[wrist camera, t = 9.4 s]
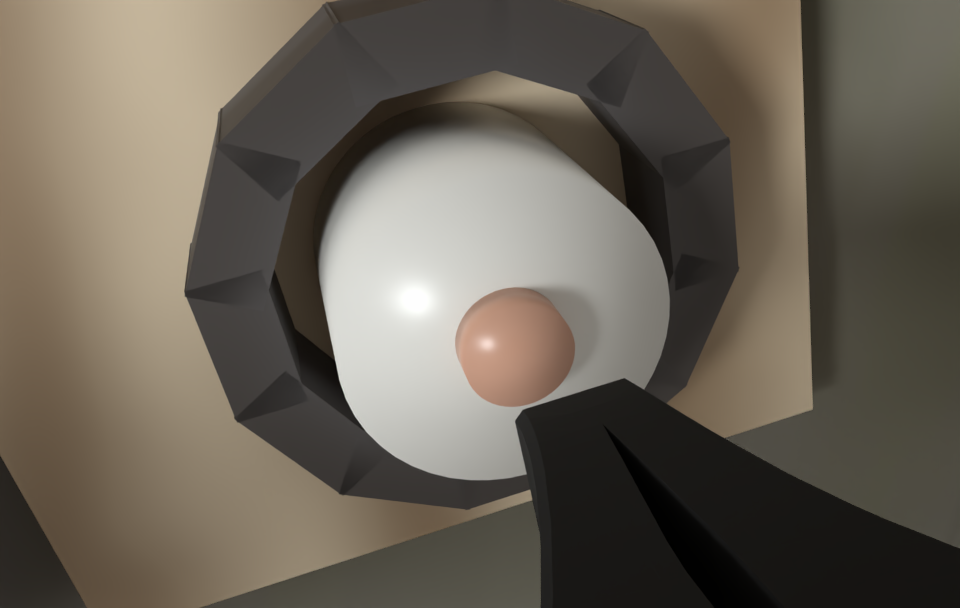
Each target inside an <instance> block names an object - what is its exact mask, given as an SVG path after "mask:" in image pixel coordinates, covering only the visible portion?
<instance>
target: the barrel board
mask: <svg viewBox="0 0 960 608" xmlns="http://www.w3.org/2000/svg"><path fill="white" fill-rule="evenodd" d="M443 102H471V103H479V104H485V105H489V106H492V107H496V108H500V109H503V110H505V111H507V112H510V113H512V114H514V115H517V116H519V117H520V118H522V119H523V120H525V121H527V122H528V123H530V124H532V125H533V126H534V127H535V128H537V129H538V130H539V131H540V132H542V133H543V134H544V135H545V136H546V137H547V138H549V139H550V140H551V141H552V142H553V143H554V144H555V145H557V146H558V147H559V148H560V149H561V150H562V151H563V152H564V153H566V154H567V155H568V156H569V157H570V158H571V159H572V160H573V161H575V162H576V163H577V164H578V165H579V166H580V167H581V168H582V169H584V170H585V171H586V172H587V173H588V174H589V175H590V176H592V177H593V178H594V179H595V180H596V181H597V182H598V183H599V184H601V185H602V186H603V187H604V188H605V189H606V190H607V191H608V192H610V193H611V194H612V195H613V196H614V197H615V198H616V199H618V200H619V201H620V202H621V203H622V204H623V205H624V206H625V207H627V208H628V209H629V210H630V211H631V212H632V213H633V214H634V216H635V217H636V218H637V219H638V220H639V221H640V222H641V223H642V224H643V226H644V227H645V229H646V230H647V232H648V233H649V235H650V236H651V238H652V239H653V241H654V243H655V245H656V247H657V249H658V252H659V254H660V256H661V258H662V261H663V265H664V268H665V272H666V275H667V280H668V288H669V296H670V310H669V323H668V329H667V336H666V340H665V343H664V347H663V350H662V354H661V356H660V359H659V361H658V363H657V366H656V368H655V371H654V373H653V375H652V377H651V378H650V380H649V382H648V384H647V385H646V387H645V389H644V390H645V391H647V392H649V393H650V394H652V395H654V396H655V397H657V398H658V399H660V400H662V401H663V402H665V403H667V404H668V405H670V406H671V407H673V408H675V409H676V410H678V411H680V412H681V413H683V414H684V415H686V416H688V417H689V418H691V419H693V420H694V421H696V422H698V423H699V424H701V425H703V426H704V427H706V428H708V429H709V430H711V431H713V432H714V433H716V434H718V435H720V436H721V437H723V438H726V437H729V436H732V435H735V434H739V433H742V432H745V431H748V430H751V429H754V428H757V427H760V426H763V425H766V424H769V423H773V422H776V421H779V420H782V419H785V418H788V417H791V416H794V415H797V414H800V413H803V412H807V411H810V410H813V397H812V364H811V331H810V298H809V265H808V232H807V199H806V166H805V133H804V100H803V67H802V34H801V1H800V0H0V456H1V458H2V459H3V461H4V463H5V465H6V466H7V468H8V470H9V472H10V474H11V475H12V477H13V479H14V481H15V482H16V484H17V486H18V488H19V489H20V491H21V493H22V495H23V496H24V498H25V500H26V502H27V503H28V505H29V507H30V509H31V510H32V512H33V514H34V516H35V517H36V519H37V521H38V523H39V524H40V526H41V528H42V530H43V531H44V533H45V535H46V537H47V538H48V540H49V542H50V544H51V545H52V547H53V549H54V551H55V552H56V554H57V556H58V558H59V559H60V561H61V563H62V565H63V566H64V568H65V570H66V572H67V573H68V575H69V577H70V579H71V580H72V582H73V584H74V586H75V587H76V589H77V591H78V593H79V594H80V596H81V598H82V600H83V601H84V603H85V605H86V607H87V608H200V607H203V606H206V605H209V604H213V603H216V602H219V601H222V600H225V599H228V598H231V597H234V596H237V595H240V594H243V593H247V592H250V591H253V590H256V589H259V588H262V587H265V586H268V585H271V584H274V583H278V582H281V581H284V580H287V579H290V578H293V577H296V576H299V575H302V574H305V573H308V572H312V571H315V570H318V569H321V568H324V567H327V566H330V565H333V564H336V563H339V562H342V561H346V560H349V559H352V558H355V557H358V556H361V555H364V554H367V553H370V552H373V551H377V550H380V549H383V548H386V547H389V546H392V545H395V544H398V543H401V542H404V541H407V540H411V539H414V538H417V537H420V536H423V535H426V534H429V533H432V532H435V531H438V530H442V529H445V528H448V527H451V526H454V525H457V524H460V523H463V522H466V521H469V520H472V519H476V518H479V517H482V516H485V515H488V514H491V513H494V512H497V511H500V510H503V509H506V508H510V507H513V506H516V505H519V504H522V503H525V502H528V501H531V500H532V496H531V491H530V487H529V482H528V478H527V474H526V475H521V476H516V477H512V478H505V479H496V480H464V479H455V478H448V477H444V476H440V475H436V474H432V473H429V472H426V471H424V470H421V469H418V468H416V467H413V466H411V465H409V464H407V463H406V462H404V461H402V460H400V459H398V458H396V457H395V456H393V455H392V454H391V453H389V452H388V451H387V450H385V449H384V448H383V447H381V446H380V445H379V444H378V443H377V442H376V441H375V440H374V439H373V438H372V437H371V436H370V435H369V434H368V433H367V432H366V431H365V429H364V428H363V427H362V425H361V424H360V423H359V421H358V420H357V419H356V417H355V416H354V414H353V412H352V410H351V408H350V406H349V404H348V402H347V401H346V398H345V395H344V392H343V390H342V387H341V384H340V381H339V376H338V371H337V366H336V361H335V356H334V352H333V347H332V342H331V337H330V332H329V327H328V322H327V317H326V312H325V307H324V302H323V297H322V293H321V288H320V283H319V278H318V273H317V268H316V262H315V257H314V245H313V232H314V223H315V216H316V212H317V208H318V204H319V200H320V198H321V195H322V193H323V190H324V188H325V185H326V183H327V181H328V180H329V178H330V176H331V174H332V173H333V171H334V169H335V167H336V166H337V165H338V163H339V162H340V161H341V159H342V158H343V157H344V156H345V154H346V153H347V152H348V151H349V150H350V149H351V148H352V147H353V146H354V145H355V144H356V143H357V142H358V141H359V140H360V139H361V138H362V137H363V136H365V135H366V134H367V133H369V132H370V131H371V130H372V129H374V128H375V127H376V126H378V125H380V124H382V123H383V122H385V121H387V120H388V119H390V118H392V117H394V116H396V115H399V114H401V113H403V112H406V111H408V110H411V109H414V108H418V107H422V106H425V105H429V104H436V103H443Z"/></svg>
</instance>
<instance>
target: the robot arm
mask: <svg viewBox="0 0 960 608" xmlns="http://www.w3.org/2000/svg"><path fill="white" fill-rule="evenodd" d="M515 424H516V429H517V433H518V437H519V442H520V446H521V451H522V455H523V460H524V464H525V469H526V473H527V478H528V482H529V487H530V491H531V496H532V500H533V504H534V509H535V513H536V518H537V522H538V527H539V531H540V540H541V608H960V549H959V548H957V547H954V546H952V545H949V544H946V543H944V542H941V541H939V540H936V539H934V538H931V537H929V536H926V535H924V534H921V533H919V532H916V531H914V530H911V529H909V528H906V527H903V526H901V525H898V524H896V523H893V522H891V521H888V520H886V519H884V518H881V517H879V516H877V515H874V514H872V513H870V512H868V511H865V510H863V509H861V508H858V507H856V506H854V505H852V504H850V503H848V502H846V501H843V500H841V499H839V498H837V497H835V496H833V495H831V494H829V493H827V492H825V491H823V490H821V489H818V488H816V487H814V486H812V485H810V484H808V483H806V482H804V481H802V480H800V479H798V478H796V477H794V476H792V475H790V474H788V473H786V472H784V471H782V470H780V469H779V468H777V467H775V466H773V465H771V464H770V463H768V462H766V461H764V460H762V459H760V458H759V457H757V456H755V455H753V454H751V453H750V452H748V451H746V450H744V449H742V448H741V447H739V446H737V445H735V444H733V443H732V442H730V441H728V440H726V439H725V438H723V437H721V436H720V435H718V434H716V433H714V432H713V431H711V430H709V429H708V428H706V427H704V426H703V425H701V424H699V423H698V422H696V421H694V420H693V419H691V418H689V417H688V416H686V415H684V414H683V413H681V412H680V411H678V410H676V409H675V408H673V407H671V406H670V405H668V404H667V403H665V402H663V401H662V400H660V399H658V398H657V397H655V396H654V395H652V394H650V393H649V392H647V391H645V390H644V389H642V388H641V387H639V386H637V385H635V384H634V383H632V382H630V381H629V380H627V379H625V378H623V379H620V380H616V381H613V382H610V383H607V384H604V385H600V386H597V387H594V388H591V389H587V390H584V391H581V392H578V393H575V394H571V395H568V396H565V397H562V398H559V399H555V400H552V401H549V402H546V403H543V404H539V405H536V406H533V407H530V408H526V409H523V410H522V411H521V413H520V414H519V416H518V417H517V419H516V420H515Z"/></svg>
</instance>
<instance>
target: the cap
mask: <svg viewBox="0 0 960 608" xmlns="http://www.w3.org/2000/svg"><path fill="white" fill-rule="evenodd" d="M313 245H314V257H315V262H316V268H317V273H318V278H319V283H320V288H321V293H322V297H323V302H324V307H325V312H326V317H327V322H328V327H329V332H330V337H331V342H332V347H333V352H334V356H335V361H336V366H337V371H338V376H339V381H340V384H341V387H342V390H343V392H344V395H345V398H346V401H347V402H348V404H349V406H350V408H351V410H352V412H353V414H354V416H355V417H356V419H357V420H358V421H359V423H360V424H361V425H362V427H363V428H364V429H365V431H366V432H367V433H368V434H369V435H370V436H371V437H372V438H373V439H374V440H375V441H376V442H377V443H378V444H379V445H380V446H381V447H383V448H384V449H385V450H387V451H388V452H389V453H391V454H392V455H393V456H395V457H396V458H398V459H400V460H402V461H404V462H406V463H407V464H409V465H411V466H413V467H416V468H418V469H421V470H424V471H426V472H429V473H432V474H436V475H440V476H444V477H448V478H455V479H464V480H496V479H505V478H512V477H516V476H521V475H526V474H527V473H526V469H525V464H524V460H523V455H522V451H521V446H520V442H519V437H518V433H517V429H516V424H515V420H516V419H517V417H518V416H519V414H520V413H521V411H522V410H523V409H526V408H530V407H533V406H536V405H539V404H543V403H546V402H549V401H552V400H555V399H559V398H562V397H565V396H568V395H571V394H575V393H578V392H581V391H584V390H587V389H591V388H594V387H597V386H600V385H604V384H607V383H610V382H613V381H616V380H620V379H623V378H625V379H627V380H629V381H630V382H632V383H634V384H635V385H637V386H639V387H641V388H642V389H645V387H646V385H647V384H648V382H649V380H650V378H651V377H652V375H653V373H654V371H655V368H656V366H657V363H658V361H659V359H660V356H661V354H662V350H663V347H664V343H665V340H666V336H667V329H668V323H669V310H670V296H669V288H668V280H667V275H666V272H665V268H664V265H663V261H662V258H661V256H660V254H659V252H658V249H657V247H656V245H655V243H654V241H653V239H652V238H651V236H650V235H649V233H648V232H647V230H646V229H645V227H644V226H643V224H642V223H641V222H640V221H639V220H638V219H637V218H636V217H635V216H634V214H633V213H632V212H631V211H630V210H629V209H628V208H627V207H625V206H624V205H623V204H622V203H621V202H620V201H619V200H618V199H616V198H615V197H614V196H613V195H612V194H611V193H610V192H608V191H607V190H606V189H605V188H604V187H603V186H602V185H601V184H599V183H598V182H597V181H596V180H595V179H594V178H593V177H592V176H590V175H589V174H588V173H587V172H586V171H585V170H584V169H582V168H581V167H580V166H579V165H578V164H577V163H576V162H575V161H573V160H572V159H571V158H570V157H569V156H568V155H567V154H566V153H564V152H563V151H562V150H561V149H560V148H559V147H558V146H557V145H555V144H554V143H553V142H552V141H551V140H550V139H549V138H547V137H546V136H545V135H544V134H543V133H542V132H540V131H539V130H538V129H537V128H535V127H534V126H533V125H532V124H530V123H528V122H527V121H525V120H523V119H522V118H520V117H519V116H517V115H514V114H512V113H510V112H507V111H505V110H503V109H500V108H496V107H492V106H489V105H485V104H479V103H471V102H443V103H436V104H429V105H425V106H422V107H418V108H414V109H411V110H408V111H406V112H403V113H401V114H399V115H396V116H394V117H392V118H390V119H388V120H387V121H385V122H383V123H382V124H380V125H378V126H376V127H375V128H374V129H372V130H371V131H370V132H369V133H367V134H366V135H365V136H363V137H362V138H361V139H360V140H359V141H358V142H357V143H356V144H355V145H354V146H353V147H352V148H351V149H350V150H349V151H348V152H347V153H346V154H345V156H344V157H343V158H342V159H341V161H340V162H339V163H338V165H337V166H336V167H335V169H334V171H333V173H332V174H331V176H330V178H329V180H328V181H327V183H326V185H325V188H324V190H323V193H322V195H321V198H320V200H319V204H318V208H317V212H316V216H315V223H314V232H313Z"/></svg>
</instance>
